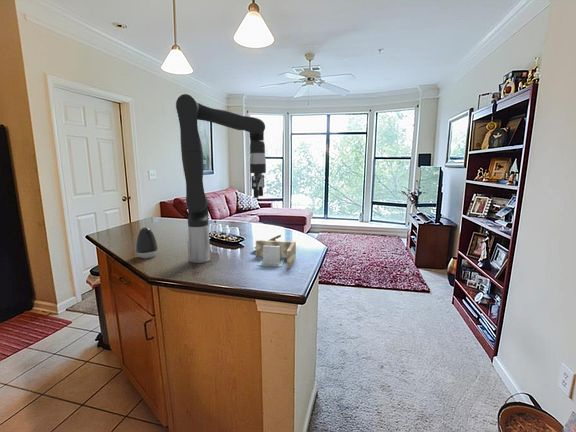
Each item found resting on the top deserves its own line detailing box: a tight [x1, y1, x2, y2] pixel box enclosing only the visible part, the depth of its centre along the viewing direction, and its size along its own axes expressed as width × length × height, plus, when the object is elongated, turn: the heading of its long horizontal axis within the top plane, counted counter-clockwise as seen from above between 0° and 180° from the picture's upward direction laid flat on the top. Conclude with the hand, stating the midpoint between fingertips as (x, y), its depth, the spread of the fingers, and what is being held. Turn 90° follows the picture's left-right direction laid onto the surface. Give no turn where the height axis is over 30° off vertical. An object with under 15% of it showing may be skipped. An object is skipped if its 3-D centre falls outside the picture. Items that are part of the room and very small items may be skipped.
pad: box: [257, 258, 285, 268], centre depth 136 cm, size 11×9×1 cm
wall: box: [251, 234, 282, 250], centre depth 158 cm, size 16×9×15 cm
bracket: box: [260, 245, 282, 267], centre depth 133 cm, size 8×5×8 cm, turn 80°
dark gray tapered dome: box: [134, 226, 159, 259], centre depth 145 cm, size 10×10×15 cm
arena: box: [255, 239, 297, 269], centre depth 137 cm, size 20×17×8 cm
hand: (258, 197), depth 141 cm, fingers open, 8 cm apart
